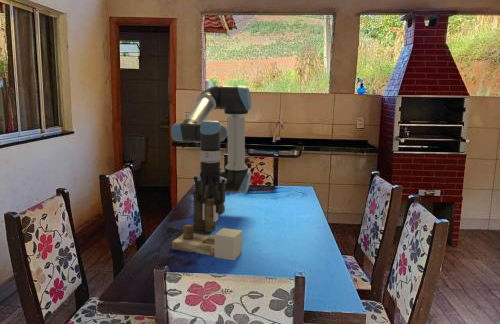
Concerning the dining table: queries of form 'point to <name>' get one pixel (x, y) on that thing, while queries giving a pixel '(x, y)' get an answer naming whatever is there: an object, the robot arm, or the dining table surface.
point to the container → (199, 215)
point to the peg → (209, 215)
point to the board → (194, 242)
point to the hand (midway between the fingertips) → (210, 219)
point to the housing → (228, 244)
